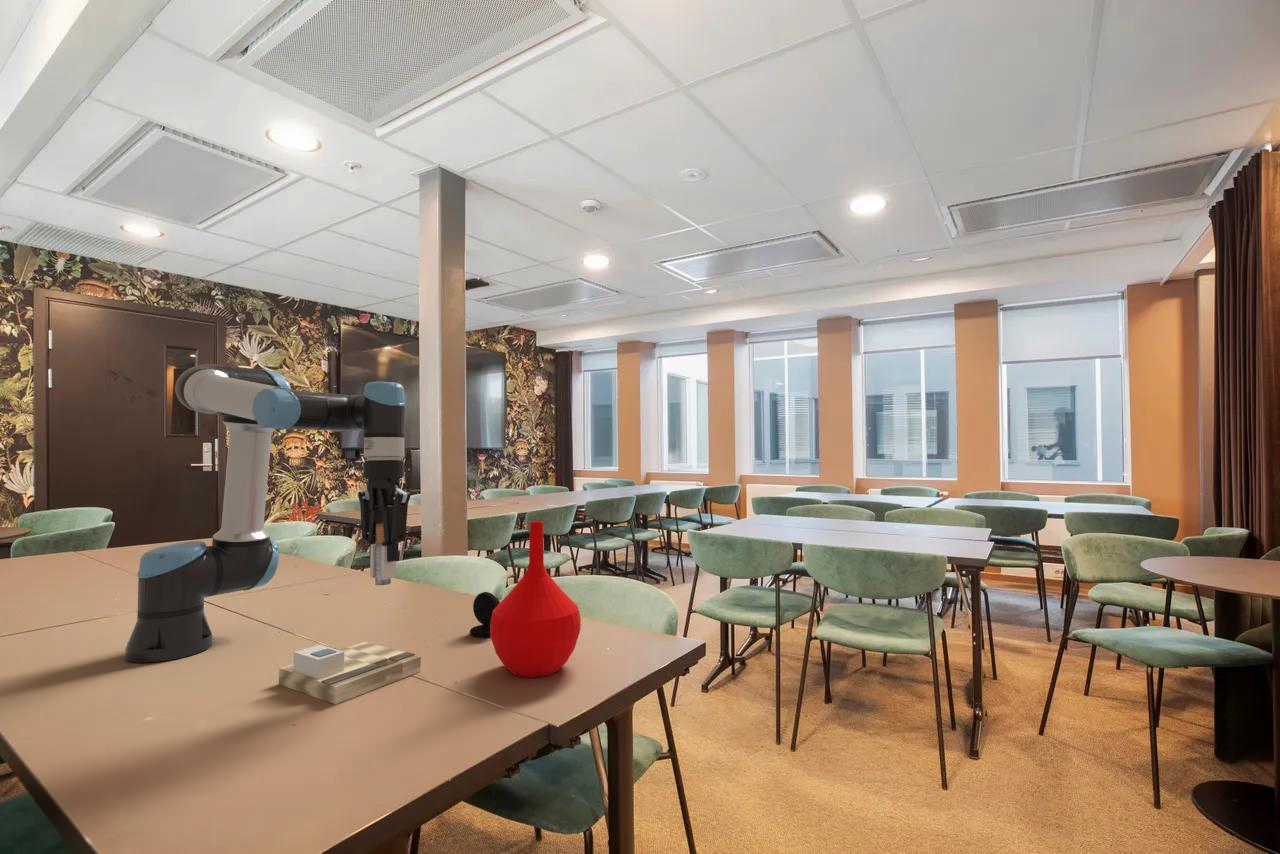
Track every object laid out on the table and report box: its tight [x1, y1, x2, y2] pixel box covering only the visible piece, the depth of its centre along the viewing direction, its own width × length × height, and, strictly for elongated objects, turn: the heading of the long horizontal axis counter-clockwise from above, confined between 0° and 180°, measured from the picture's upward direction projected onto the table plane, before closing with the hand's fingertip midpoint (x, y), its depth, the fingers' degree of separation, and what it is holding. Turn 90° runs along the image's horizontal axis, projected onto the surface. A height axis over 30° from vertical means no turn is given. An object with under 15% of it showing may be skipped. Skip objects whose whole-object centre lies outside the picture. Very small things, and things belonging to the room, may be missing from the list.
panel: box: [278, 641, 422, 705], centre depth 115 cm, size 18×18×3 cm
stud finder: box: [293, 644, 344, 679], centre depth 111 cm, size 8×5×4 cm, turn 59°
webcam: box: [469, 591, 501, 639], centre depth 144 cm, size 8×8×10 cm
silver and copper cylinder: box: [374, 523, 392, 586], centre depth 117 cm, size 3×3×12 cm
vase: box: [489, 520, 582, 678], centre depth 121 cm, size 18×18×30 cm
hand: (383, 577), depth 117 cm, fingers closed on silver and copper cylinder, 3 cm apart
